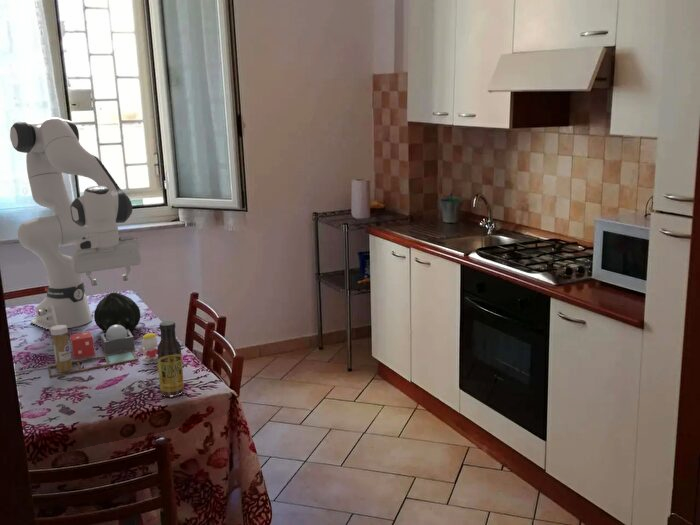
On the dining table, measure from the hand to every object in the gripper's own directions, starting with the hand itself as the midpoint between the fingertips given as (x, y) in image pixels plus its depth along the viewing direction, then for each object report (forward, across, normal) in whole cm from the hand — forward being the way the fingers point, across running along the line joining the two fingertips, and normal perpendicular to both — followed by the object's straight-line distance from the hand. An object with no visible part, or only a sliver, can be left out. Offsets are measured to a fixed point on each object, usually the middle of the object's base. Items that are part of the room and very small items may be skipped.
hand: (110, 282), depth 220 cm
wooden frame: (+22, +9, +10) cm, 26 cm away
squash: (+22, -3, -18) cm, 28 cm away
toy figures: (+22, -10, +16) cm, 29 cm away
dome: (+21, 0, -1) cm, 21 cm away
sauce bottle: (+22, -7, +46) cm, 51 cm away
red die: (+22, +10, -1) cm, 24 cm away
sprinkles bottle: (+22, +17, +10) cm, 30 cm away
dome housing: (+22, 0, -1) cm, 22 cm away
